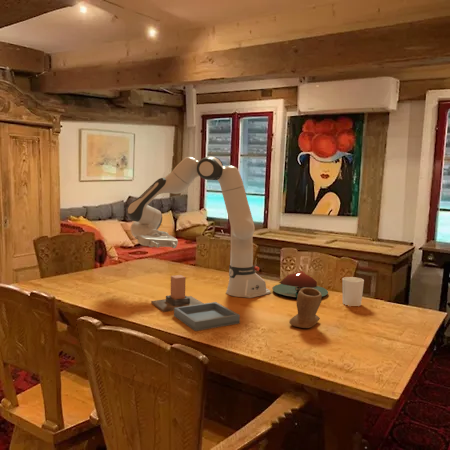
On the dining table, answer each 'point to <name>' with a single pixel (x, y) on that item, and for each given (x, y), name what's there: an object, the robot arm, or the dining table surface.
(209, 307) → the tray
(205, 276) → the dining table surface
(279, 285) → the red dome on disc
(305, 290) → the stone cup
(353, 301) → the candle holder
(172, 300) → the holder
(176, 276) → the terracotta block
